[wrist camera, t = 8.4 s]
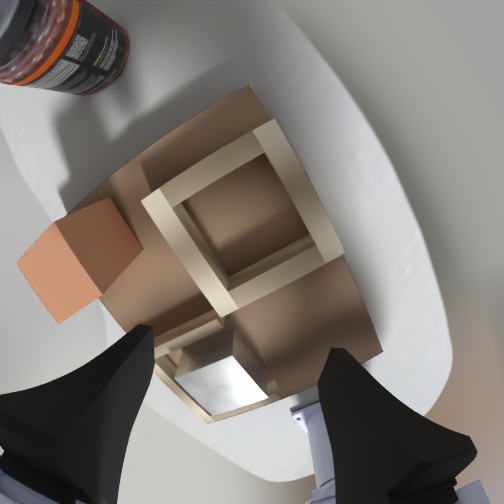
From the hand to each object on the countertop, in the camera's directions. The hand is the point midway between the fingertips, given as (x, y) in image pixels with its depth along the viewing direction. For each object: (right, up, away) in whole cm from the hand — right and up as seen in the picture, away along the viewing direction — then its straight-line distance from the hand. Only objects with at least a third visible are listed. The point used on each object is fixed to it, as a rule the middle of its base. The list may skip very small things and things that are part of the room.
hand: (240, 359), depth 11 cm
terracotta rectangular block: (-9, +5, +6) cm, 12 cm away
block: (-2, -4, +9) cm, 10 cm away
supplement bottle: (-11, +18, +4) cm, 21 cm away
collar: (0, +6, +6) cm, 9 cm away
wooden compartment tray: (-1, +2, +10) cm, 10 cm away
